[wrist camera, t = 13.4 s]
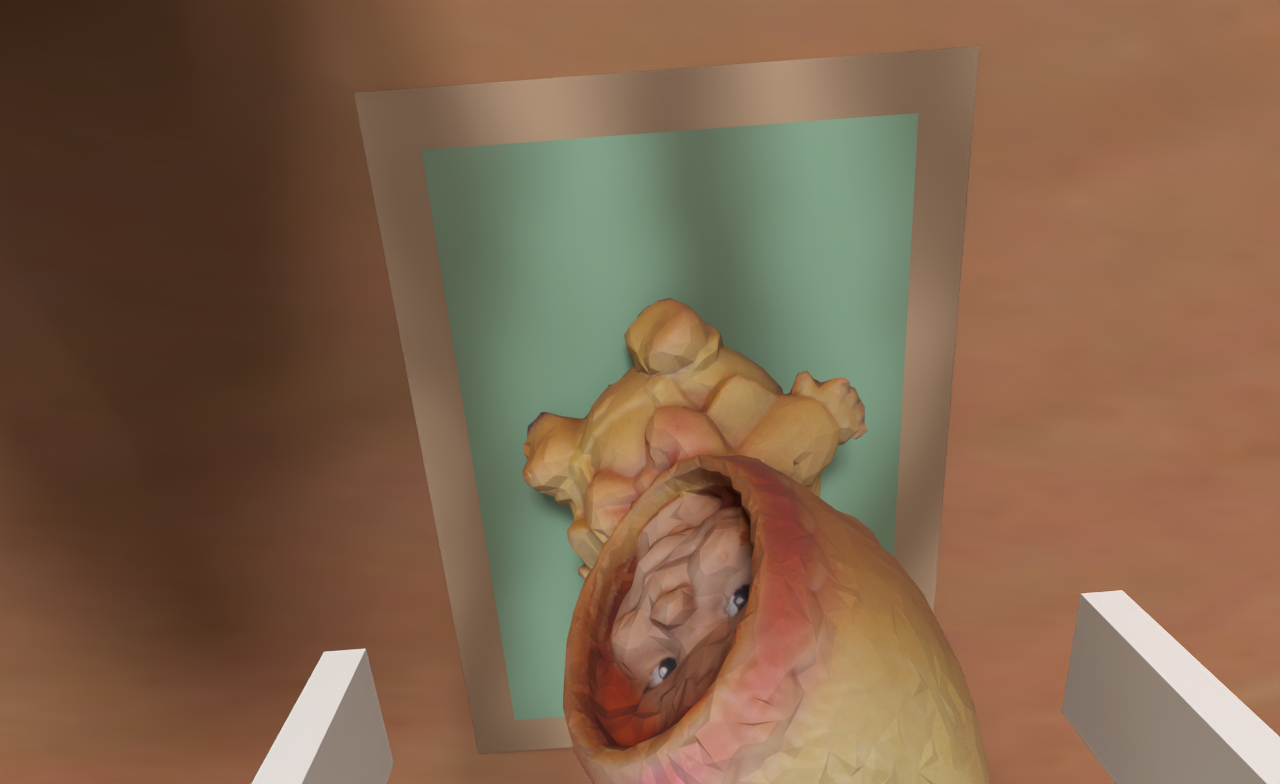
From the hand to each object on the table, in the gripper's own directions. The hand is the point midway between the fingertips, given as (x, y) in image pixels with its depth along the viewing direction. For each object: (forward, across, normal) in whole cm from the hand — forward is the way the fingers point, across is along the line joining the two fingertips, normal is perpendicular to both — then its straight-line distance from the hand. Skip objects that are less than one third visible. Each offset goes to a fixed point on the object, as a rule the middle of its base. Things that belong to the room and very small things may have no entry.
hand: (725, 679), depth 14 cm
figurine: (+10, 0, 0) cm, 10 cm away
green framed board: (+11, 0, 0) cm, 11 cm away
